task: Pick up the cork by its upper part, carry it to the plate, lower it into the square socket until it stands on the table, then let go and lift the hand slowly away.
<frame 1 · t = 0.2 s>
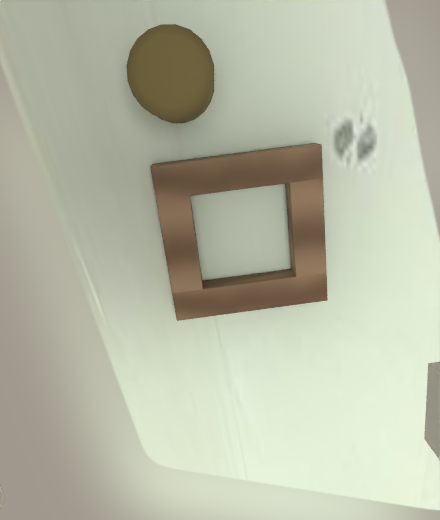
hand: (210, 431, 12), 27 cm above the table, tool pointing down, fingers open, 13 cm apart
socket plate: (242, 231, 38), on the table
cork: (177, 84, 34), on the table
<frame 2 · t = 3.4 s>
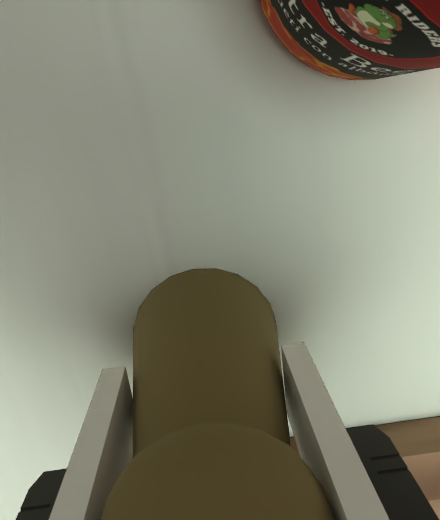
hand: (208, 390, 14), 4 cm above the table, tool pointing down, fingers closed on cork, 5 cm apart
cork: (205, 332, 18), on the table, touching gripper
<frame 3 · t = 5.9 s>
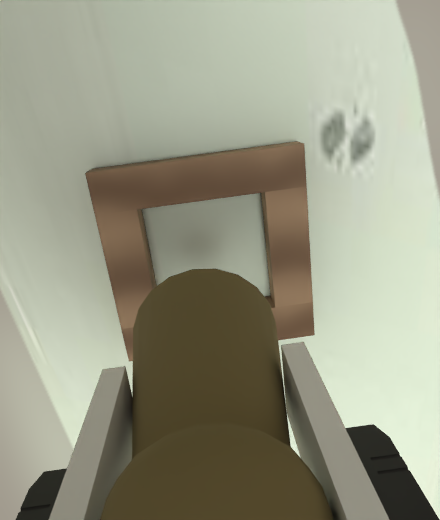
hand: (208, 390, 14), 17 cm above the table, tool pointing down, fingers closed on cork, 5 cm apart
socket plate: (208, 251, 31), on the table
cork: (205, 333, 18), point 14 cm above the table, touching gripper
when the fingers open (4 cm above the table, at t = 8.6 s): cork stays where it is, resting in socket plate.
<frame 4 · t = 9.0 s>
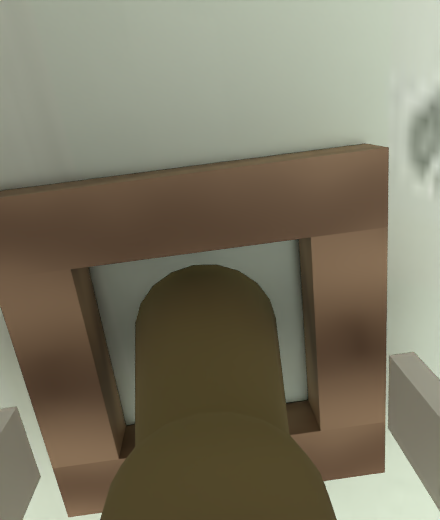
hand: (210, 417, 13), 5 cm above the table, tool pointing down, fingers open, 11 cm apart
socket plate: (205, 332, 18), on the table
cork: (206, 328, 18), resting in socket plate
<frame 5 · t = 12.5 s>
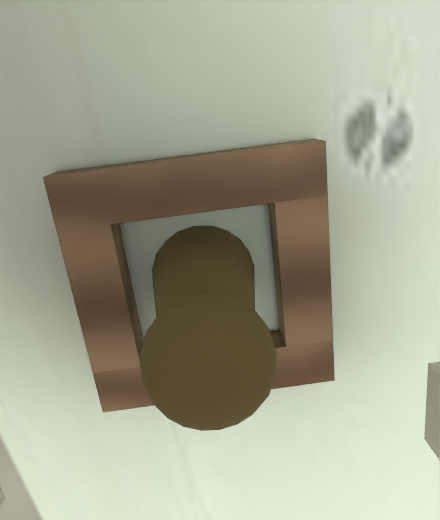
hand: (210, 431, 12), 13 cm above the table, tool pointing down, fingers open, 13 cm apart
socket plate: (203, 276, 25), on the table
cork: (203, 273, 25), resting in socket plate
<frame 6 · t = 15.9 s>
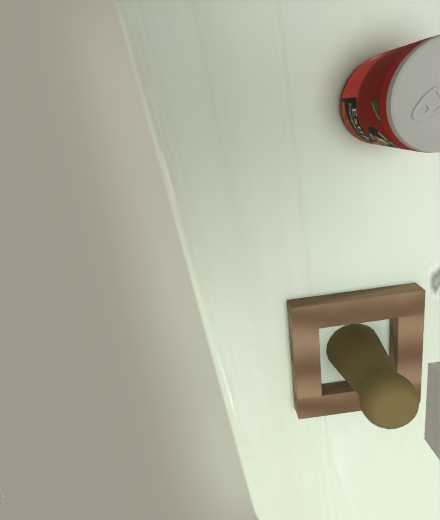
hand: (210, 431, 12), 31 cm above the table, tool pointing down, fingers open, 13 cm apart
socket plate: (352, 348, 48), on the table
canned food: (379, 100, 39), on the table
cork: (352, 346, 48), resting in socket plate
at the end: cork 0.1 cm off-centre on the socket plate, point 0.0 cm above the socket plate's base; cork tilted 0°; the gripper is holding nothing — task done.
